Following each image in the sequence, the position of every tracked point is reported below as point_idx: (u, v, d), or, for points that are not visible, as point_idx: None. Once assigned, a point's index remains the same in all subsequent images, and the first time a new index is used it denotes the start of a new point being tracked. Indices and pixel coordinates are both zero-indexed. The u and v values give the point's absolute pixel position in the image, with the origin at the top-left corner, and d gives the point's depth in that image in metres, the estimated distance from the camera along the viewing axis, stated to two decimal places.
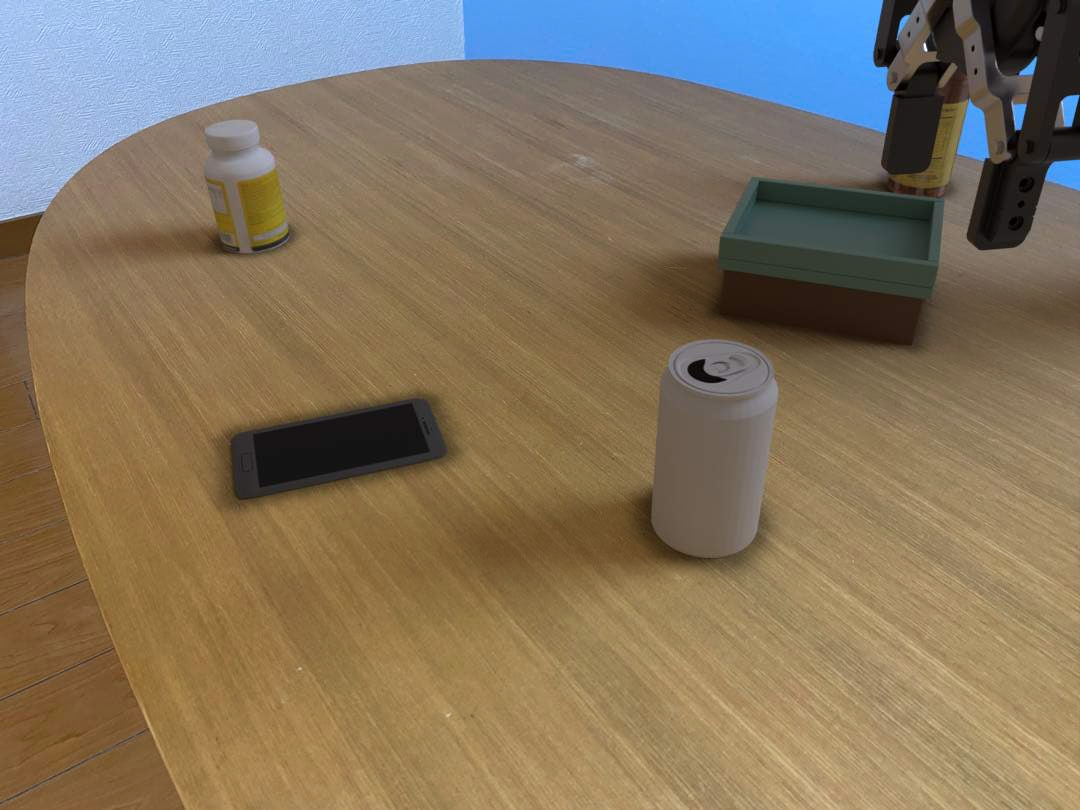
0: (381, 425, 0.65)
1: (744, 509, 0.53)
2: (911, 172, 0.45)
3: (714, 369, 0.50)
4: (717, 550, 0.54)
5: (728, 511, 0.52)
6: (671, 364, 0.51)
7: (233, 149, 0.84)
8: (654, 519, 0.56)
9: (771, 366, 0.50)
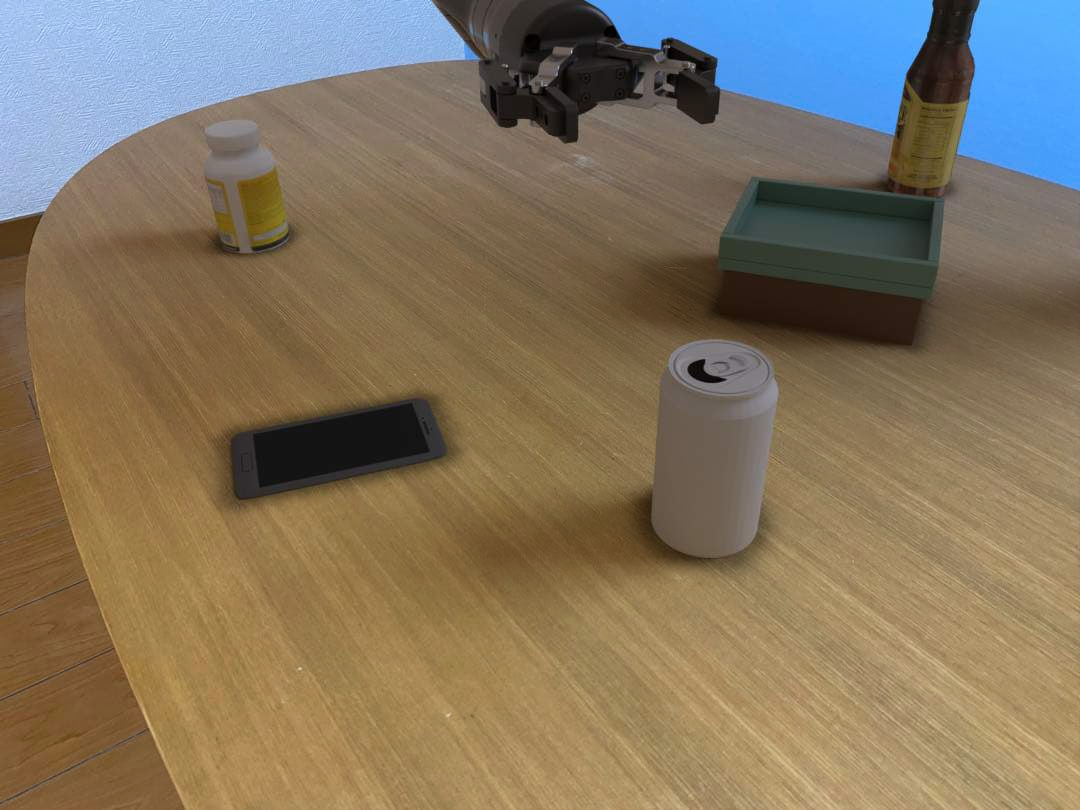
0: (381, 425, 0.65)
1: (744, 509, 0.53)
2: (705, 104, 0.54)
3: (714, 369, 0.50)
4: (717, 550, 0.54)
5: (728, 511, 0.52)
6: (671, 364, 0.51)
7: (233, 149, 0.84)
8: (654, 519, 0.56)
9: (771, 366, 0.50)
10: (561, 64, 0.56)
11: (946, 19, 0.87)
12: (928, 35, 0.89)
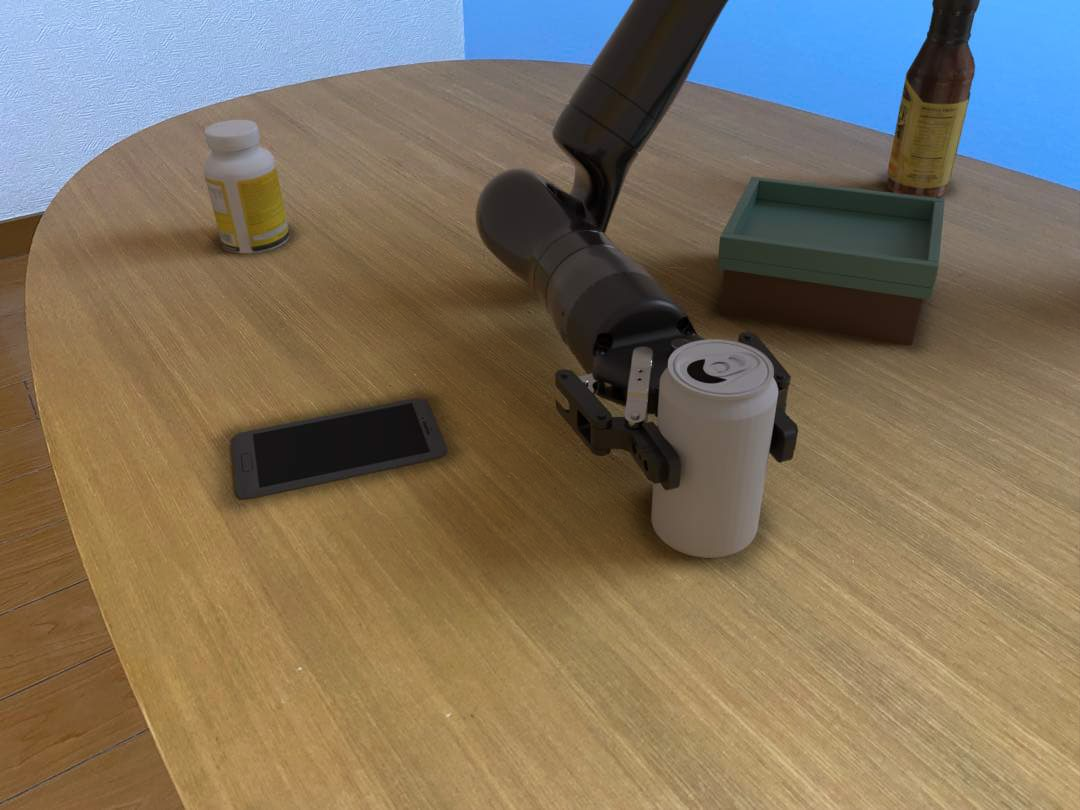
0: (381, 425, 0.65)
1: (744, 509, 0.53)
2: (783, 447, 0.52)
3: (713, 369, 0.50)
4: (717, 550, 0.54)
5: (728, 511, 0.52)
6: (671, 364, 0.51)
7: (233, 149, 0.84)
8: (654, 519, 0.56)
9: (771, 366, 0.50)
10: (649, 385, 0.55)
11: (946, 19, 0.87)
12: (928, 35, 0.89)
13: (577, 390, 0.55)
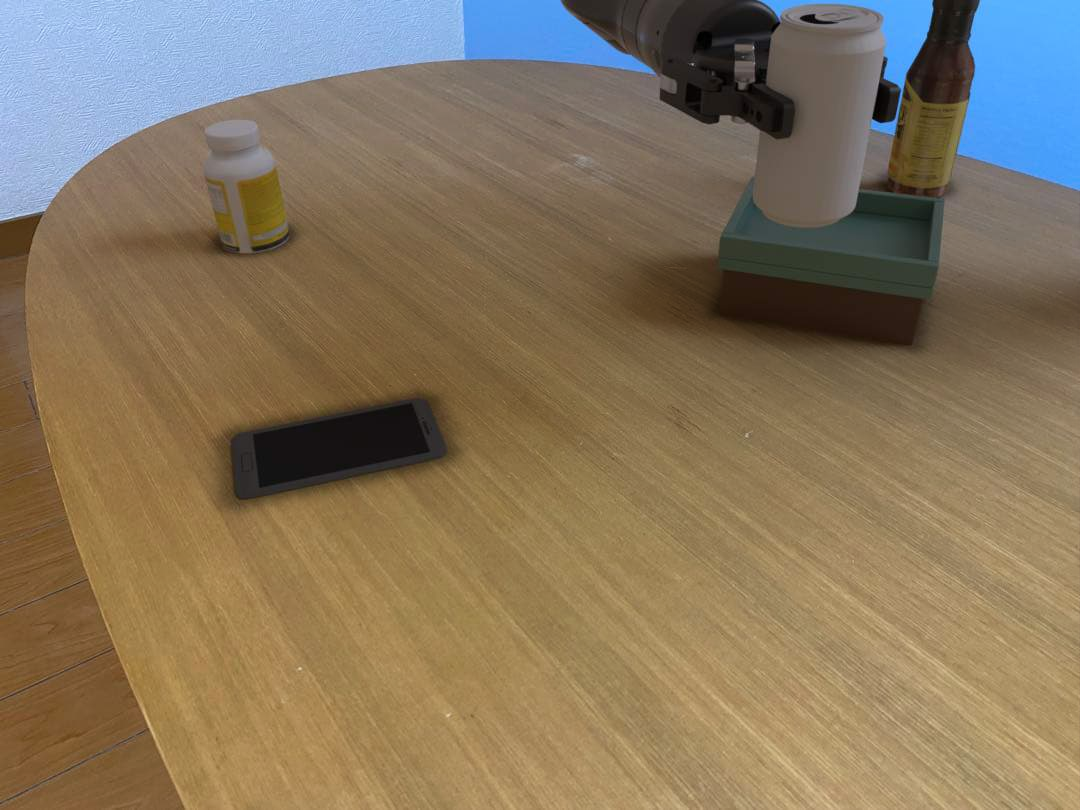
0: (381, 425, 0.65)
1: (849, 166, 0.55)
2: (888, 103, 0.55)
3: (825, 18, 0.53)
4: (821, 212, 0.57)
5: (835, 165, 0.55)
6: (784, 15, 0.53)
7: (233, 149, 0.84)
8: (758, 194, 0.58)
9: (879, 15, 0.53)
10: (754, 60, 0.57)
11: (946, 19, 0.87)
12: (928, 35, 0.89)
13: (685, 68, 0.58)
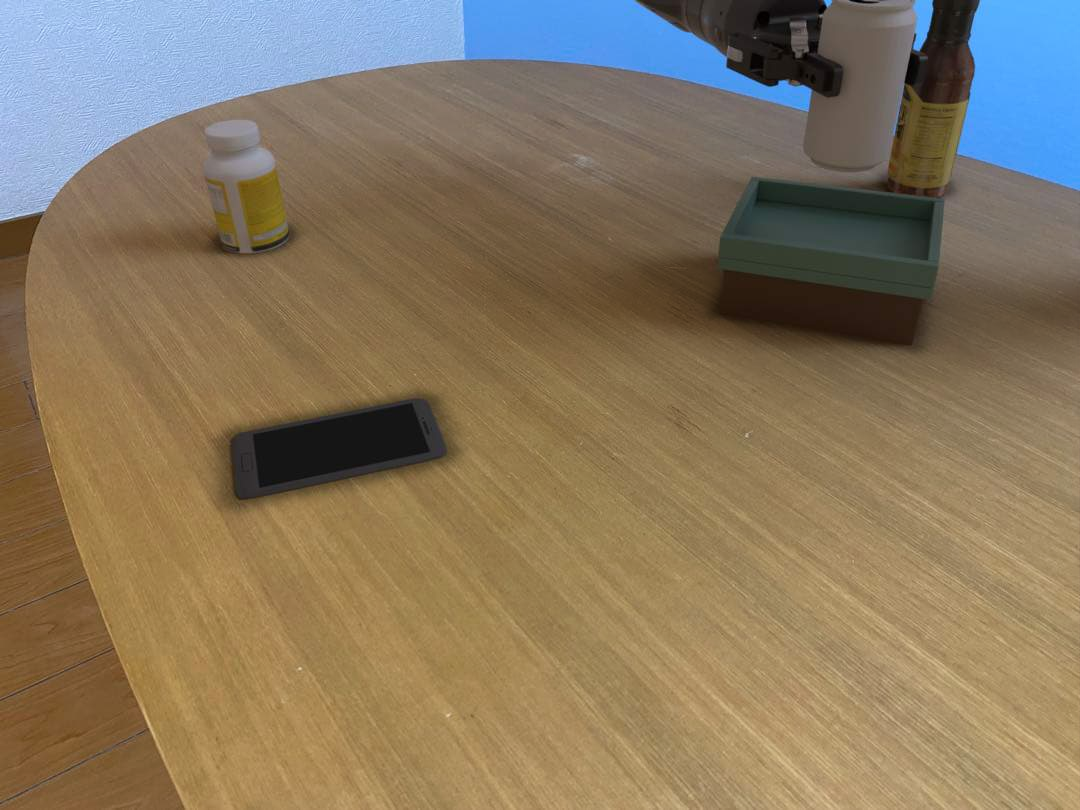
0: (381, 425, 0.65)
1: (885, 120, 0.68)
2: (917, 69, 0.67)
3: None
4: (862, 159, 0.69)
5: (874, 119, 0.67)
6: None
7: (233, 149, 0.84)
8: (808, 144, 0.71)
9: None
10: (807, 34, 0.70)
11: (946, 19, 0.87)
12: (928, 35, 0.89)
13: (750, 40, 0.70)
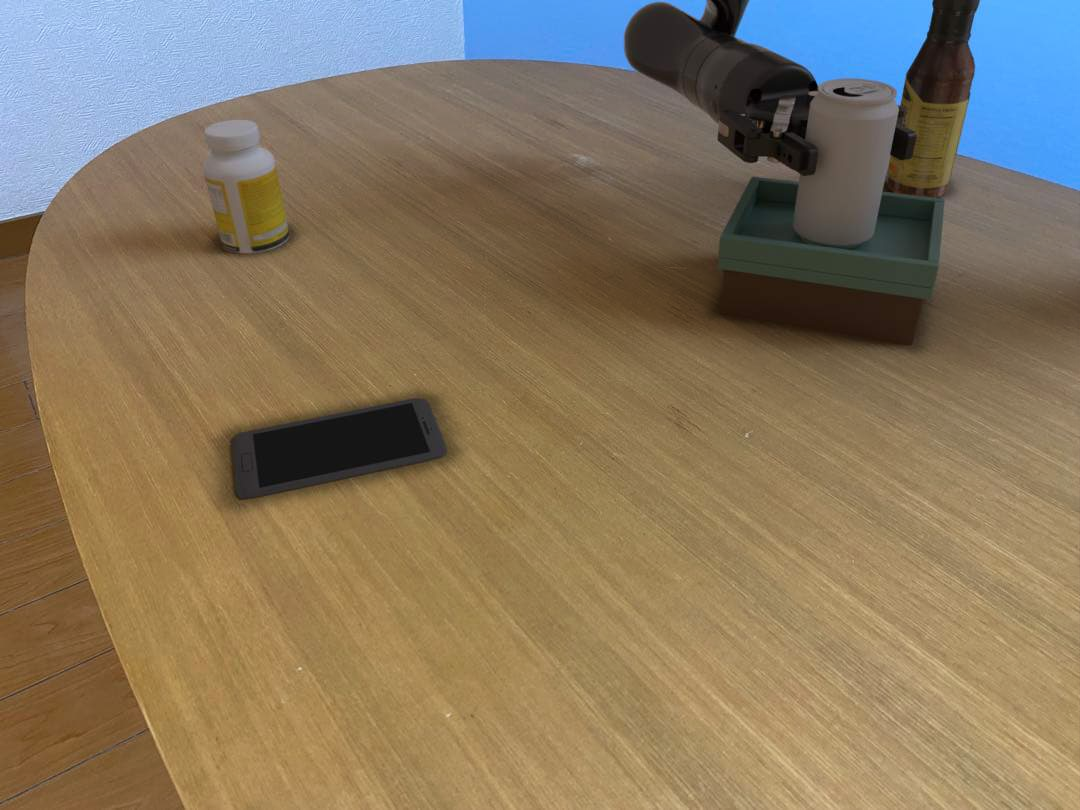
0: (381, 425, 0.65)
1: (869, 203, 0.72)
2: (906, 145, 0.71)
3: (852, 91, 0.69)
4: (848, 238, 0.73)
5: (858, 202, 0.71)
6: (820, 89, 0.70)
7: (233, 149, 0.84)
8: (797, 223, 0.75)
9: (893, 89, 0.69)
10: (790, 114, 0.74)
11: (946, 19, 0.87)
12: (928, 35, 0.89)
13: (736, 118, 0.74)
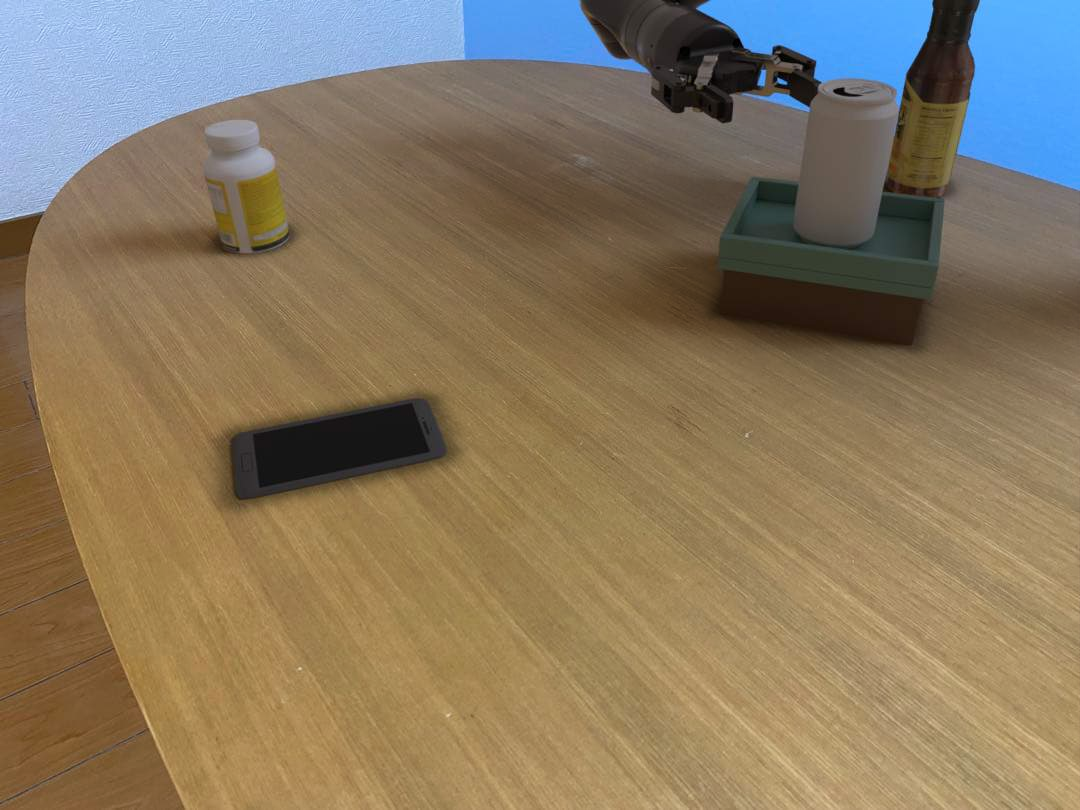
0: (381, 425, 0.65)
1: (869, 203, 0.72)
2: (813, 93, 0.81)
3: (852, 91, 0.69)
4: (848, 238, 0.73)
5: (858, 202, 0.71)
6: (820, 89, 0.70)
7: (233, 149, 0.84)
8: (797, 223, 0.75)
9: (894, 89, 0.69)
10: (712, 68, 0.83)
11: (946, 19, 0.87)
12: (928, 35, 0.89)
13: (665, 73, 0.84)
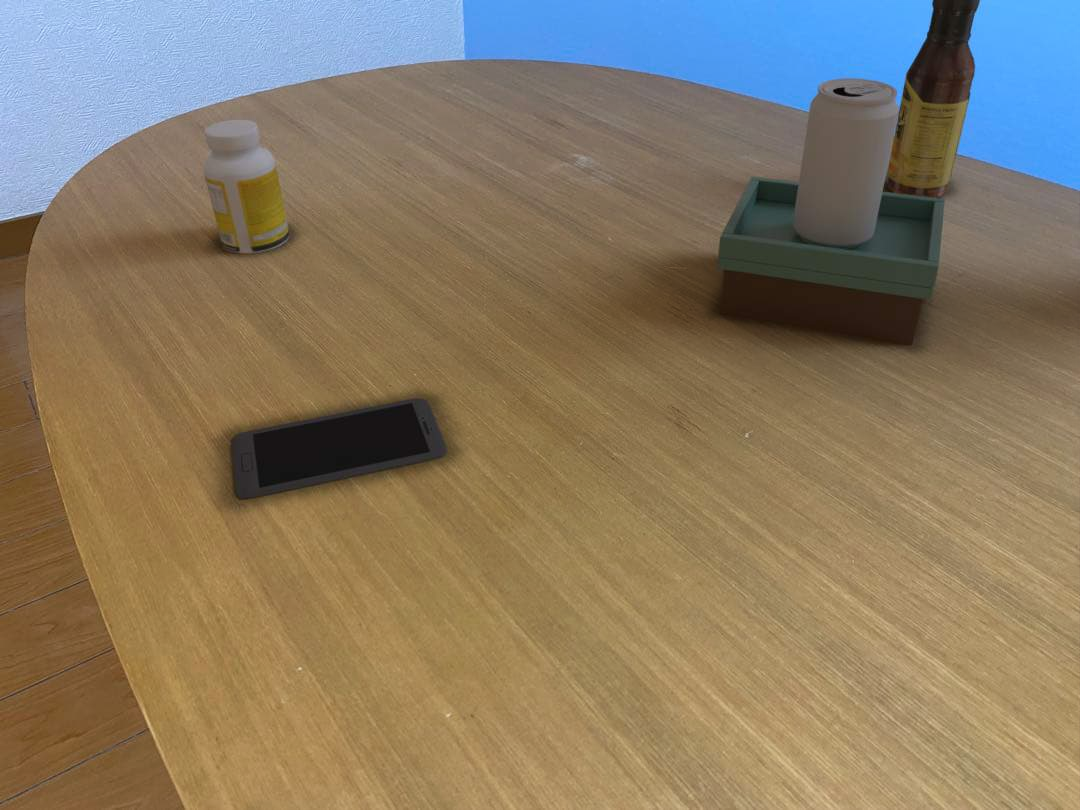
0: (381, 425, 0.65)
1: (869, 203, 0.72)
2: None
3: (852, 91, 0.69)
4: (848, 238, 0.73)
5: (858, 202, 0.71)
6: (820, 89, 0.70)
7: (233, 149, 0.84)
8: (797, 223, 0.75)
9: (894, 89, 0.69)
10: None
11: (946, 19, 0.87)
12: (928, 35, 0.89)
13: None
